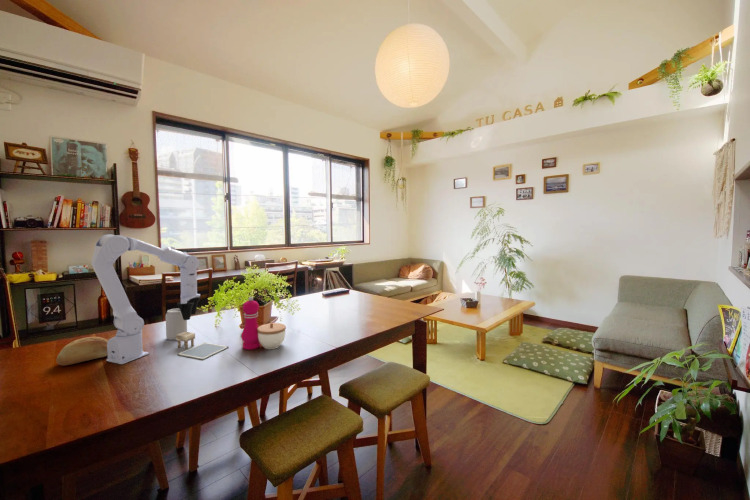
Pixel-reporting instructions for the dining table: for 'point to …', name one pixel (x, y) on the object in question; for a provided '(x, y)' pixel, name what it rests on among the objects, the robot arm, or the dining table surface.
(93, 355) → the bread roll
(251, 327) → the pepper mill
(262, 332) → the lidded jar
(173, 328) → the can
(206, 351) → the mat
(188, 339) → the small wooden stool
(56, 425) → the dining table surface
